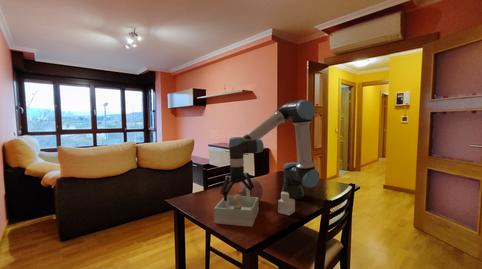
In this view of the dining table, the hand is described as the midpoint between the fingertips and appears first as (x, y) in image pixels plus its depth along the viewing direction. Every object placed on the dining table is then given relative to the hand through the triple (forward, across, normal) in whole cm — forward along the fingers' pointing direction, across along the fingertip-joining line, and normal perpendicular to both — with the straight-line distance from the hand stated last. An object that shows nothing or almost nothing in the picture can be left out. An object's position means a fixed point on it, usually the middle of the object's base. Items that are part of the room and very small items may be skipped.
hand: (238, 203), depth 124 cm
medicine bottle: (+8, -26, +11) cm, 29 cm away
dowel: (+7, 0, 0) cm, 7 cm away
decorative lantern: (+8, -15, -13) cm, 21 cm away
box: (+7, 0, 0) cm, 7 cm away
